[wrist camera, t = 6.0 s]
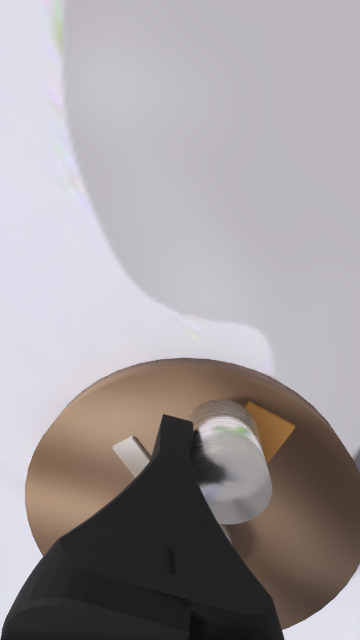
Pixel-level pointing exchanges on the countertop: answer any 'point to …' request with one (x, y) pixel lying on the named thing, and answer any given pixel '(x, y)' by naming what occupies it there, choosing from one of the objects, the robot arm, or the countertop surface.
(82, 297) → the countertop surface
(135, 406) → the dial plate
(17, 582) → the countertop surface
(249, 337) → the countertop surface
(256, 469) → the silver dumbbell
